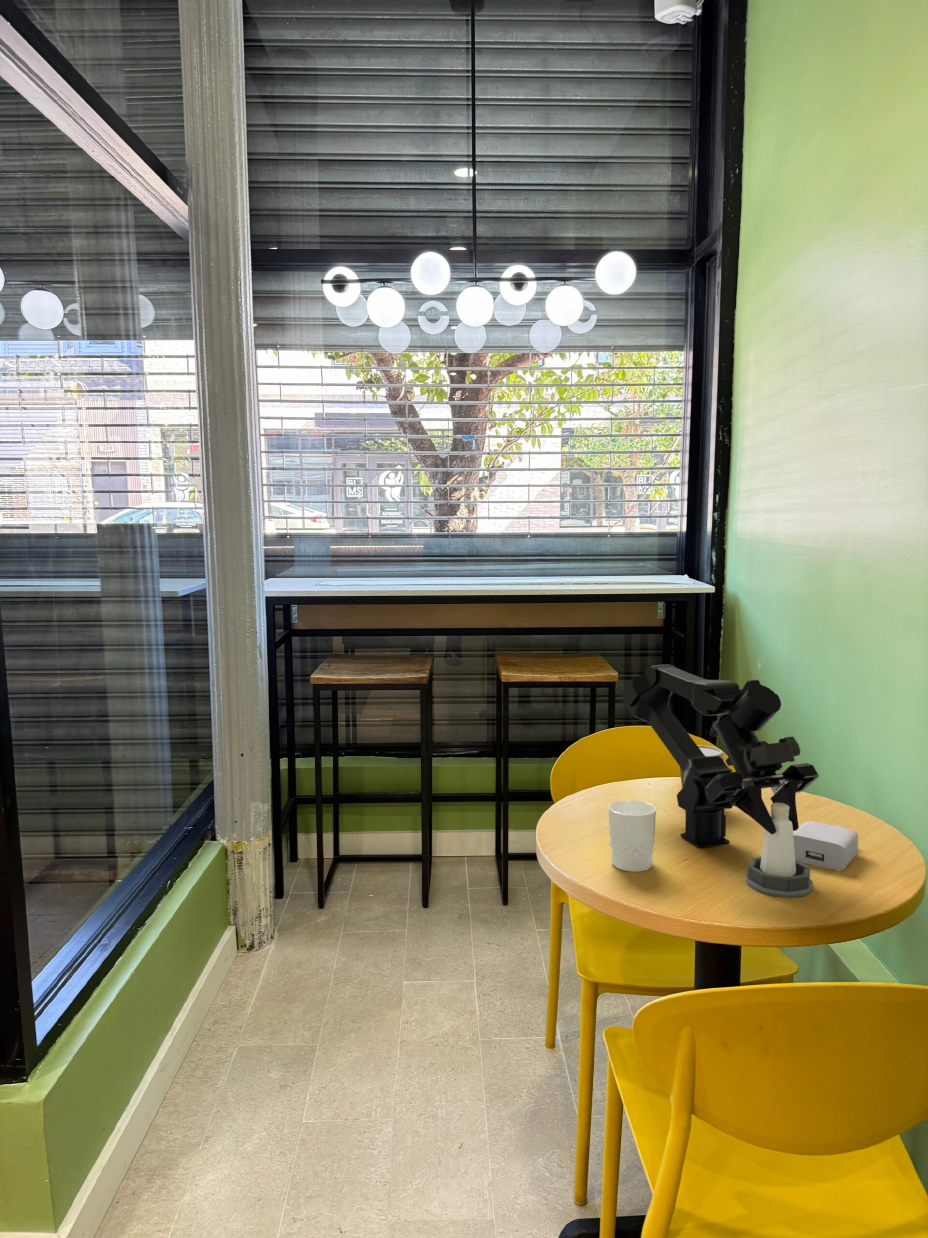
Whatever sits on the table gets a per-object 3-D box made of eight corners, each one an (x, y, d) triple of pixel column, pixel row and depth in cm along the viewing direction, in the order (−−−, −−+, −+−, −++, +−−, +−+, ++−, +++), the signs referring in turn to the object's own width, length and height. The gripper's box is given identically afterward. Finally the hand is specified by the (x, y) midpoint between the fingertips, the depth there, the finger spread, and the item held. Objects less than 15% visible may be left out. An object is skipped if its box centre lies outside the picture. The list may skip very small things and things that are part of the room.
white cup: (626, 877, 132) (626, 818, 131) (599, 860, 139) (599, 804, 138) (665, 868, 135) (665, 811, 134) (637, 852, 142) (637, 797, 141)
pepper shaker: (803, 874, 127) (806, 807, 126) (778, 881, 125) (780, 813, 124) (777, 862, 132) (779, 797, 131) (752, 868, 130) (754, 802, 128)
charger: (866, 846, 144) (843, 873, 132) (812, 835, 150) (786, 860, 138) (867, 821, 143) (844, 845, 132) (813, 810, 149) (787, 833, 138)
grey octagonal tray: (774, 901, 122) (774, 884, 122) (732, 876, 131) (733, 859, 131) (826, 892, 125) (827, 874, 125) (783, 867, 135) (783, 851, 134)
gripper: (717, 725, 127) (761, 815, 117) (813, 715, 132) (862, 801, 123) (687, 760, 135) (726, 847, 126) (778, 749, 141) (822, 832, 131)
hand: (785, 831), depth 126 cm, fingers closed on pepper shaker, 4 cm apart
